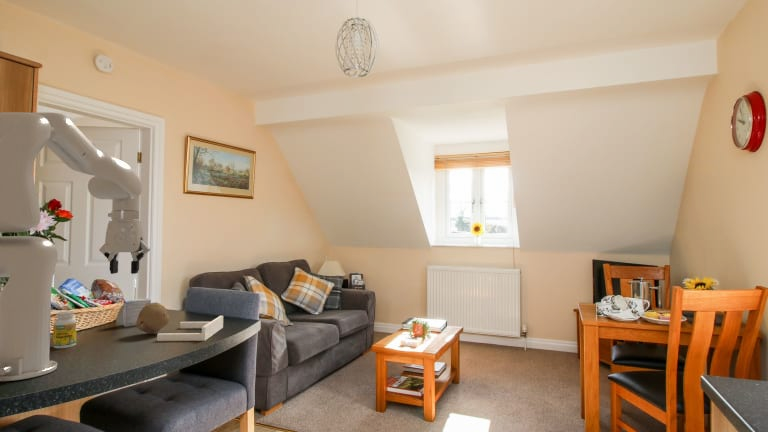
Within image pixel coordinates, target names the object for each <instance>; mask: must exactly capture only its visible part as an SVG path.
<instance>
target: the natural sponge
mask: <svg viewBox="0 0 768 432" xmlns="http://www.w3.org/2000/svg"><path fill="white" fill-rule="evenodd" d="M169 322H170V316H169V312H168V310H167V308H166V307H165V306H164V305H163V304H161V303H159V302H151V303H150V304H147V305H146V306H144V307H143V308H142V310H141V311H140V313H139V316H138V319H137V322H136V329H138V330H139V331H141V332H144V333H146V334H147V335H155V334H157V333H158V332H159V331H160V330H162V329H163V328H165V327H166V326H168V323H169Z"/></svg>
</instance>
